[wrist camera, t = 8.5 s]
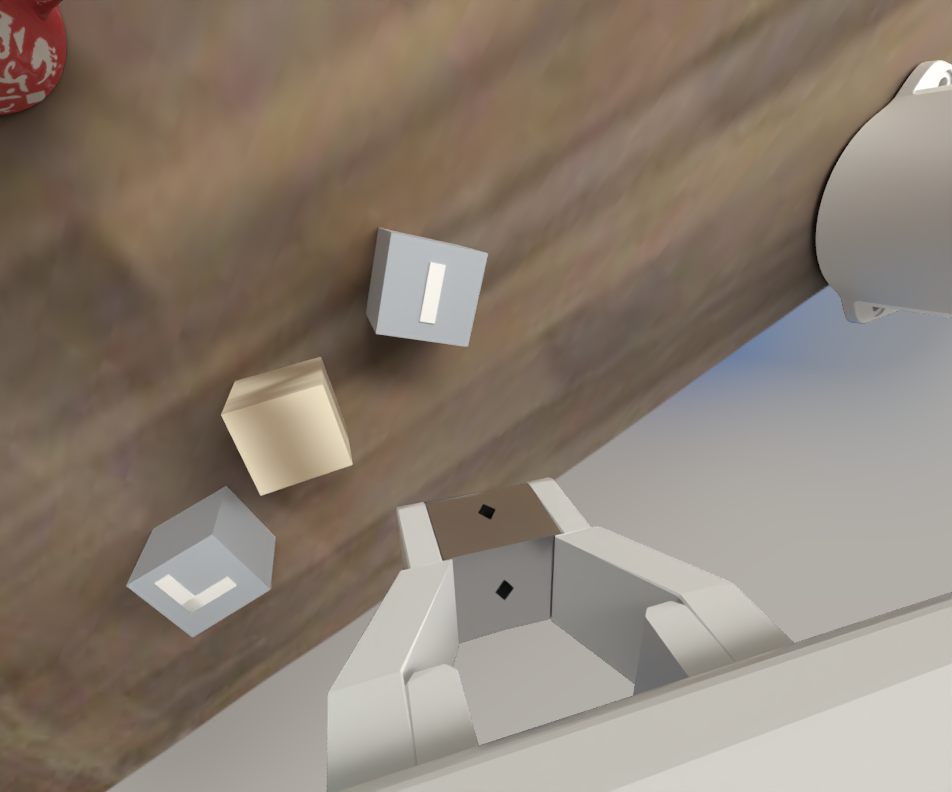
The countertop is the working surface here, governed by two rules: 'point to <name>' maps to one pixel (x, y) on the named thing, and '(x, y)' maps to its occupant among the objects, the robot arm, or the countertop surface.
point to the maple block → (287, 425)
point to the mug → (29, 52)
